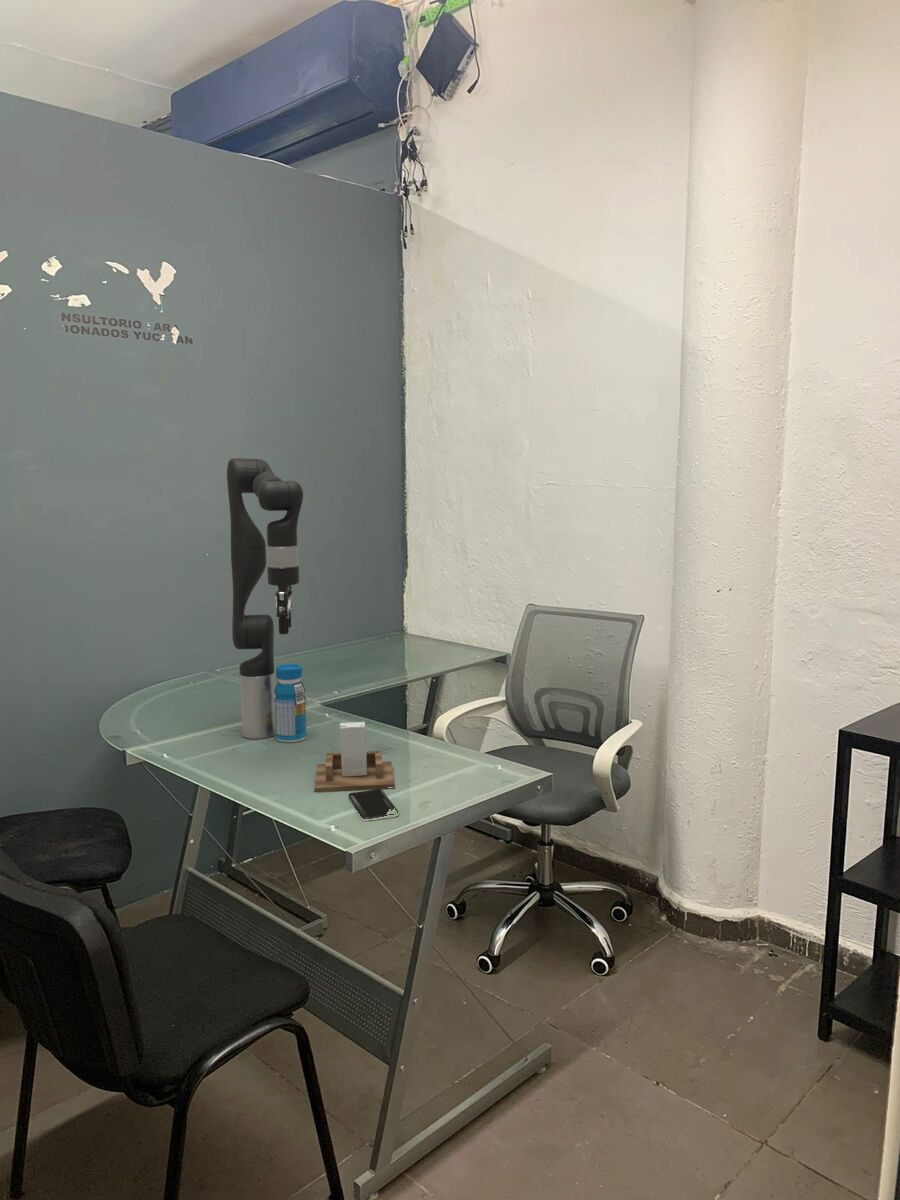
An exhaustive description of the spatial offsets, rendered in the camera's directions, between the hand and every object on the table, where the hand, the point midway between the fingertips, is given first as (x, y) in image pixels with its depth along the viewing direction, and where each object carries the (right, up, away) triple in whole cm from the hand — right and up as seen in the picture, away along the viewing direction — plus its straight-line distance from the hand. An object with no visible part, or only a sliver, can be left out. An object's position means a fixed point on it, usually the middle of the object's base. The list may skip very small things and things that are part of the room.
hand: (285, 630), depth 211 cm
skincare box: (+18, -34, -7) cm, 39 cm away
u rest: (+18, -34, -7) cm, 39 cm away
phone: (+24, -38, -24) cm, 51 cm away
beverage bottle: (-3, -30, +23) cm, 38 cm away
